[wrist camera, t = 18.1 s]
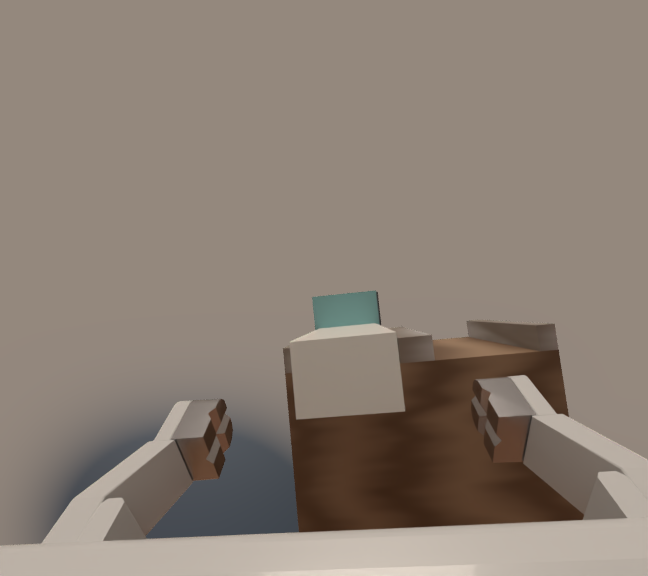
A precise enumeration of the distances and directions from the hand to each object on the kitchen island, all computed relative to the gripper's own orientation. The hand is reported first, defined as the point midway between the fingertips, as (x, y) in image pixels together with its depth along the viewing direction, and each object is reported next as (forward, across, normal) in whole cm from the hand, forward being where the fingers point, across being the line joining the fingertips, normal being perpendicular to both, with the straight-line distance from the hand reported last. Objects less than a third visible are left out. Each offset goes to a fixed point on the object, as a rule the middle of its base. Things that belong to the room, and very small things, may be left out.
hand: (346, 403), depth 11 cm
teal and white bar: (+8, 0, +5) cm, 10 cm away
